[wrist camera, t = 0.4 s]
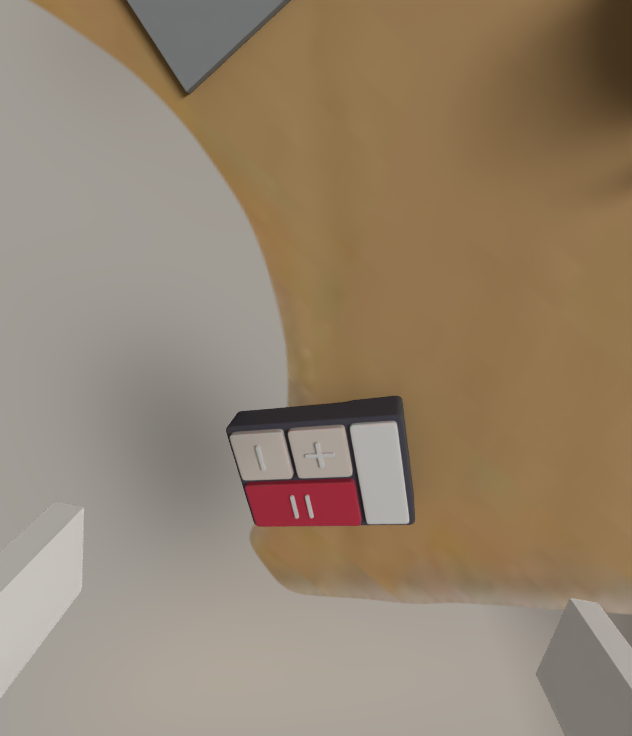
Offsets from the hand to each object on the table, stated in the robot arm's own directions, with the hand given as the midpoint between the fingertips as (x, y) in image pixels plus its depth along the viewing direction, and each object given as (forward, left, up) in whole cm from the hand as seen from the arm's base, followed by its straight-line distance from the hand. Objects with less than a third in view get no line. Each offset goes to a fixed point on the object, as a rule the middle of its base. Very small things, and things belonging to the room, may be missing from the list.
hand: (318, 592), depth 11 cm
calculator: (+9, +9, -24) cm, 27 cm away
